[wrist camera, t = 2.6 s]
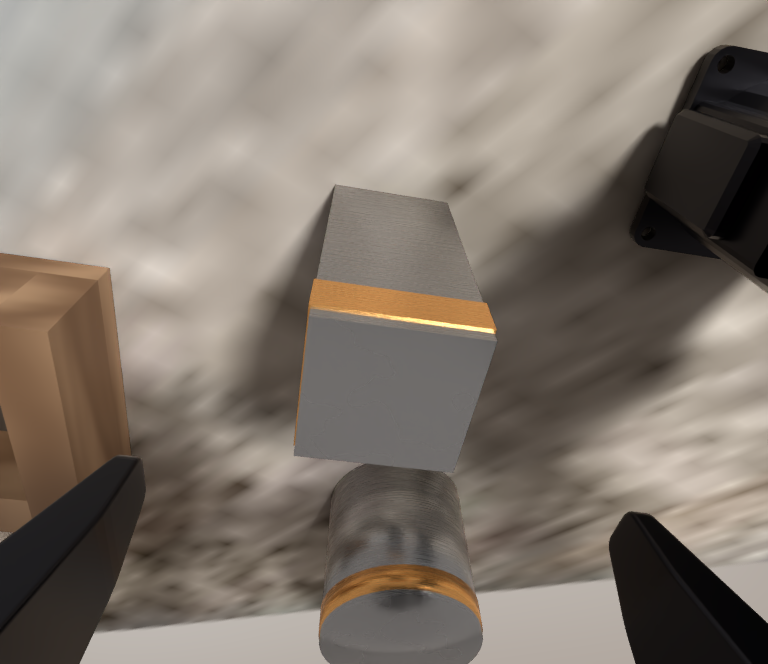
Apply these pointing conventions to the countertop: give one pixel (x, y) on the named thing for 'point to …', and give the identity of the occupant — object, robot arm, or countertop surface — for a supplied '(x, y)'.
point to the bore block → (55, 382)
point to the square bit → (392, 336)
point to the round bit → (398, 571)
